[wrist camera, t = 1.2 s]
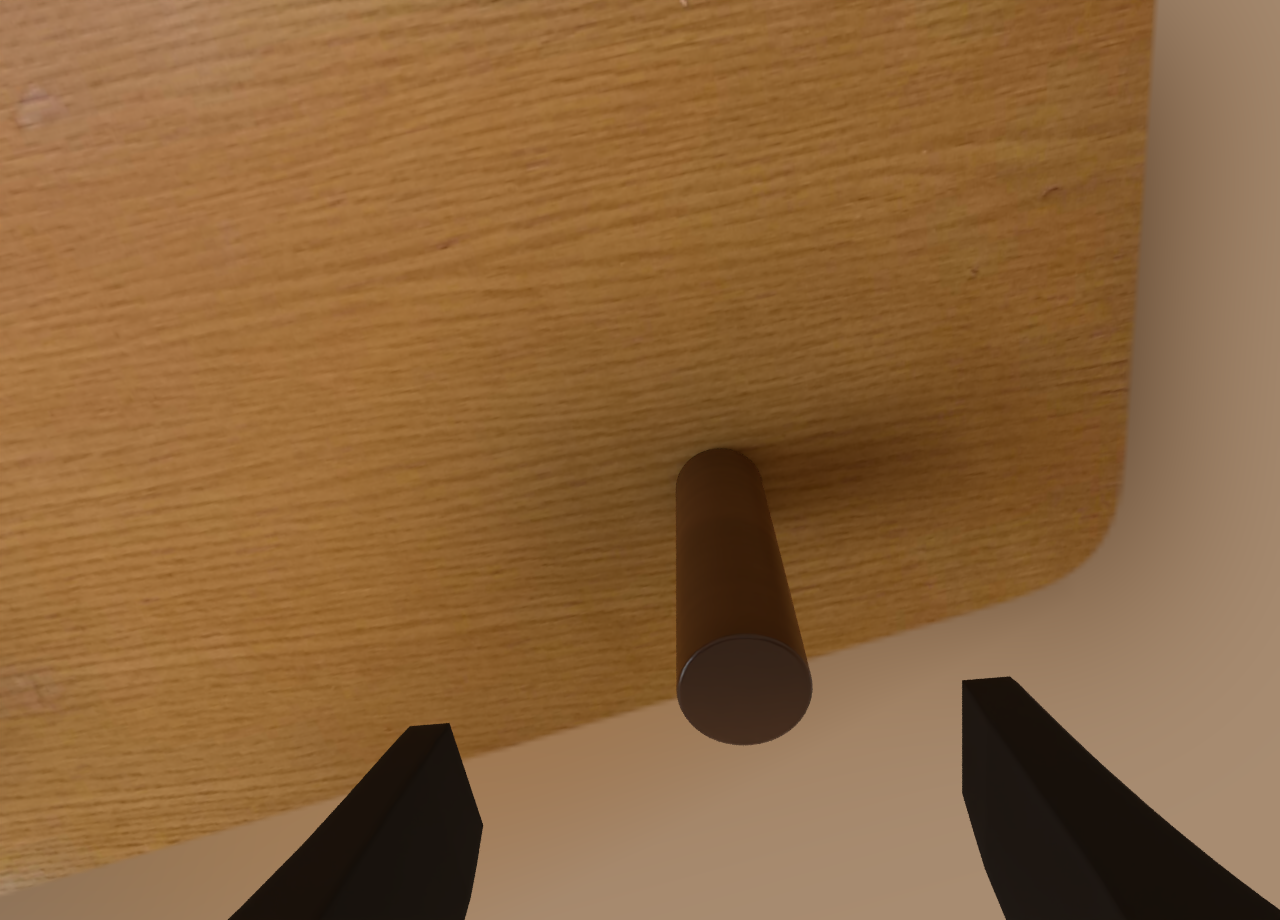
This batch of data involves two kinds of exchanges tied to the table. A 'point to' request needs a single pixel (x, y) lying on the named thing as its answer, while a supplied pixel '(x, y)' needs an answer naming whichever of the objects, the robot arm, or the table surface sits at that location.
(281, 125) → the table surface
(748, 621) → the brown wooden dowel
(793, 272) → the table surface
